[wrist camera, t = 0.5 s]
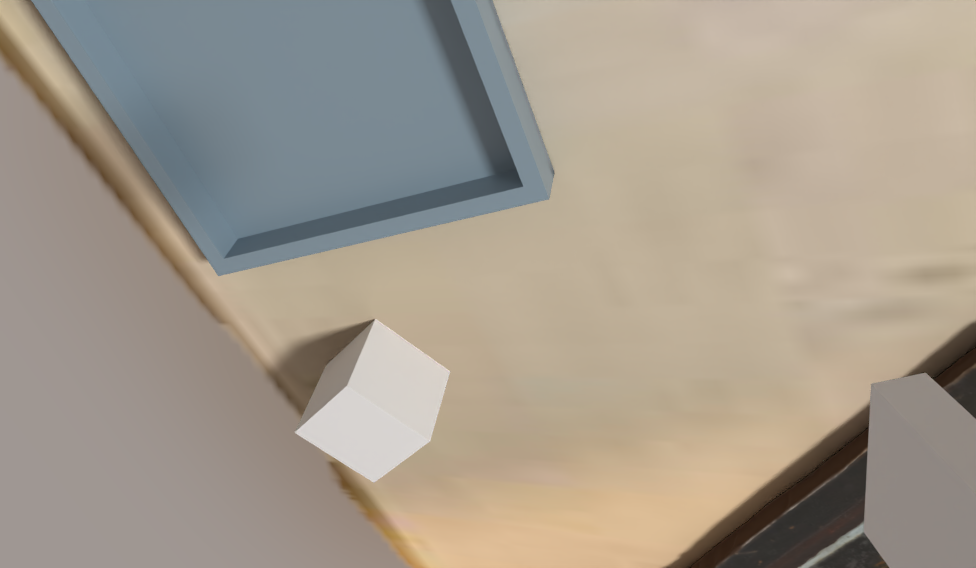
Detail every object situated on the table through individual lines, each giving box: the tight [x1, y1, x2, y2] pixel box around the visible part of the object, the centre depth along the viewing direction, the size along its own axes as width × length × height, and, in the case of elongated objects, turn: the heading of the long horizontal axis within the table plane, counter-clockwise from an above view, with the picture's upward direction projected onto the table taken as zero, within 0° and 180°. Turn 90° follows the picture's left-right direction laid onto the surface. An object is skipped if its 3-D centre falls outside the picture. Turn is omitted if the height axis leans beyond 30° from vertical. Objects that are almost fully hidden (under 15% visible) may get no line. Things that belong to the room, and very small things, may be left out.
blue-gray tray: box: [31, 0, 554, 276], centre depth 38 cm, size 22×20×3 cm
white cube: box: [295, 319, 450, 482], centre depth 50 cm, size 6×6×6 cm
